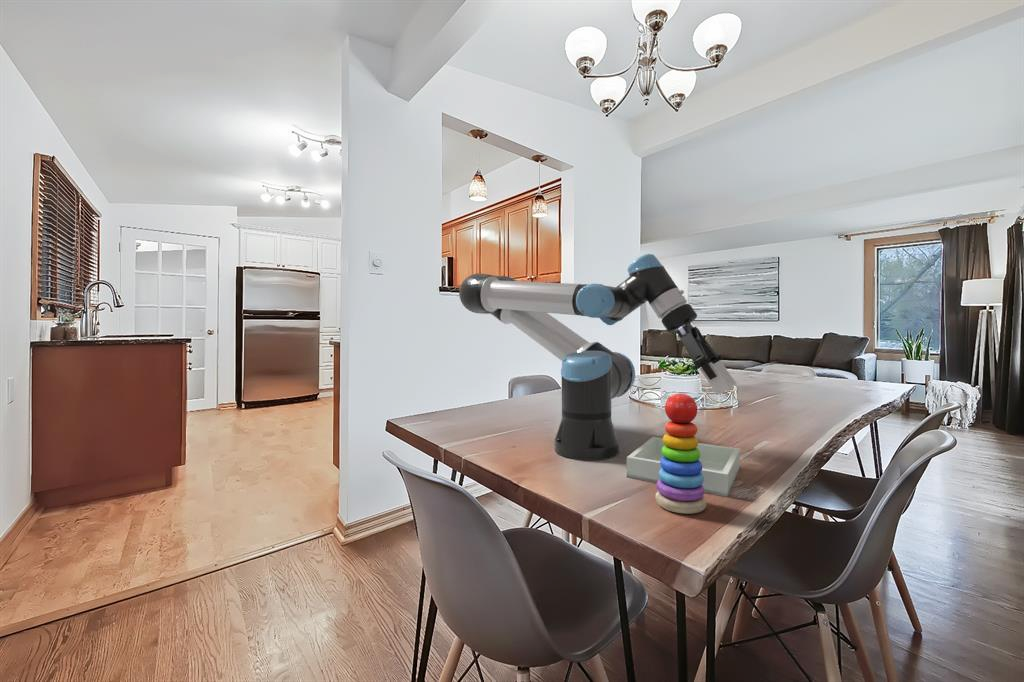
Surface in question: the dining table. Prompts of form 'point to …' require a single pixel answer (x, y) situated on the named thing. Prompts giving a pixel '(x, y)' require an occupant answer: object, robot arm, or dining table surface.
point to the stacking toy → (681, 460)
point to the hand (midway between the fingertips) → (727, 389)
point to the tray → (715, 460)
